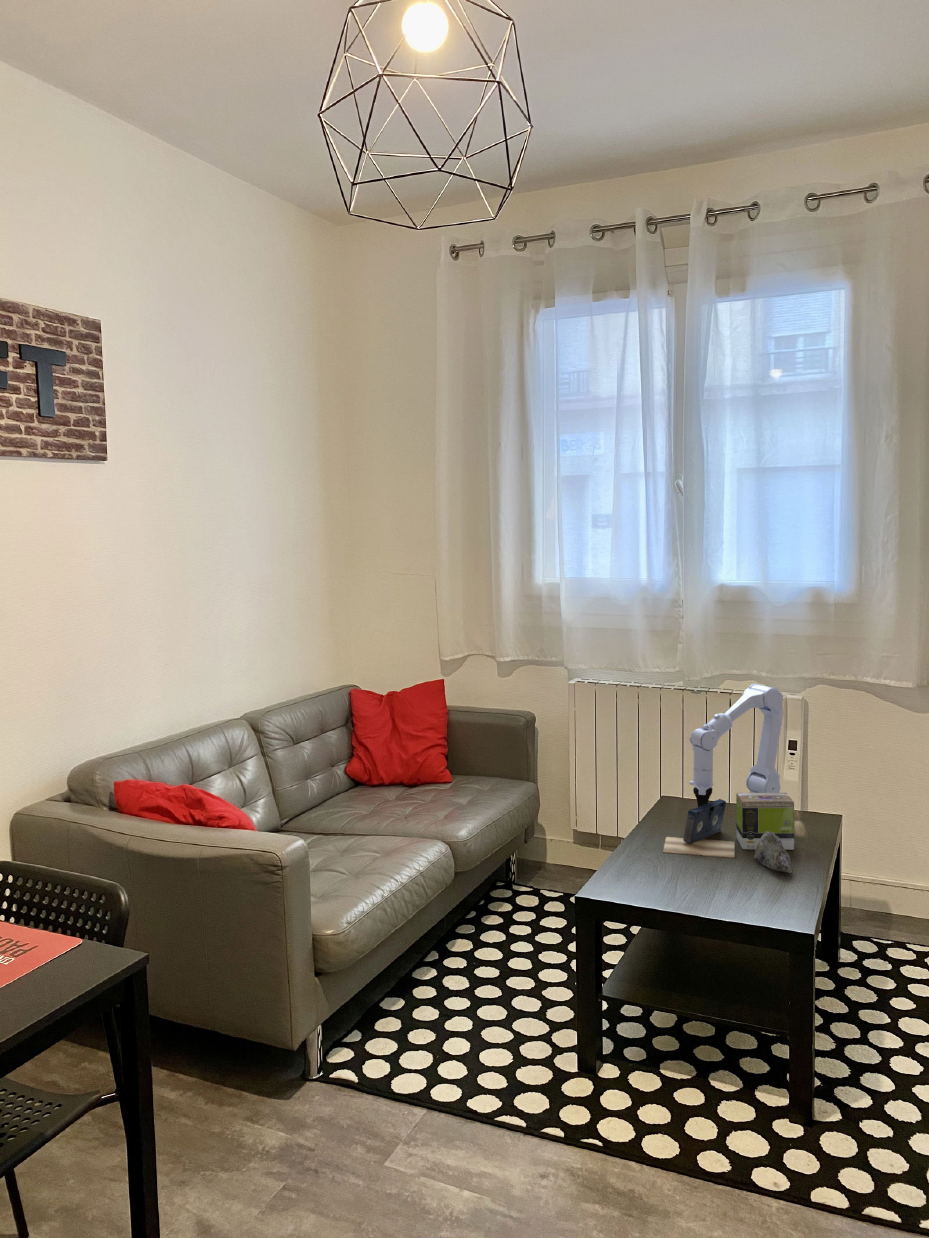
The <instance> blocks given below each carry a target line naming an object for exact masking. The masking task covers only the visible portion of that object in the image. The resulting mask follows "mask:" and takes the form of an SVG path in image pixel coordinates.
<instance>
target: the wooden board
mask: <svg viewBox="0 0 929 1238" xmlns="http://www.w3.org/2000/svg"><path fill="white" fill-rule="evenodd" d="M683 839H684V837H676V836H675V837H674V836H673V837H672V836H666V837H665V840H664V846H663V851H662V852H663V853H665V854H674V855H677V854H678V855H687V854H688V856H700V855H702V856H704V857H714V858H715V857H717V858H730V859H735V857H736V856H735V853H736V852H735V849H736V848H735V841H731V840H730V841H729V840H718V839H715V840H714V839H705V838H704V839H701V840H699V841H696V842H694V843H692V844H689V843H687V842H685V841H683Z"/></svg>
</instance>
